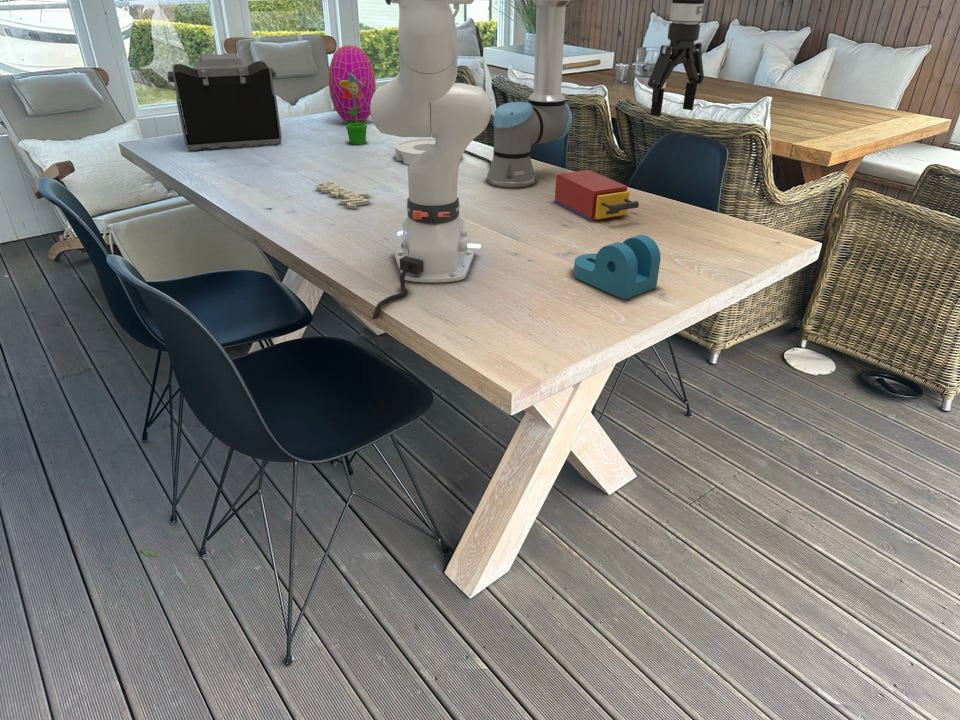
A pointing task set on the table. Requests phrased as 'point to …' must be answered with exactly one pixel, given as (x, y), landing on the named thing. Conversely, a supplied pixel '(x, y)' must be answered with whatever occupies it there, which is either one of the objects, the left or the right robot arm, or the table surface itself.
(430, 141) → the ashtray
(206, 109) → the electronic device
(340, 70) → the decorative egg
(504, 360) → the table surface
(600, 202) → the drawer
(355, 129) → the potted flower
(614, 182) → the red case
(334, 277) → the table surface
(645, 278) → the camera mount
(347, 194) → the decorative sign
